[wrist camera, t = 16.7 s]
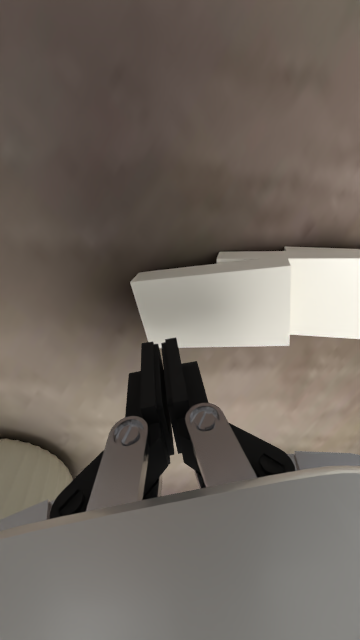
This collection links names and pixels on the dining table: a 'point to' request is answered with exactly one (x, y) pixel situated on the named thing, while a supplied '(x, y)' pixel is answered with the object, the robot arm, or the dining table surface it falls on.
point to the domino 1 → (217, 304)
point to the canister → (28, 476)
